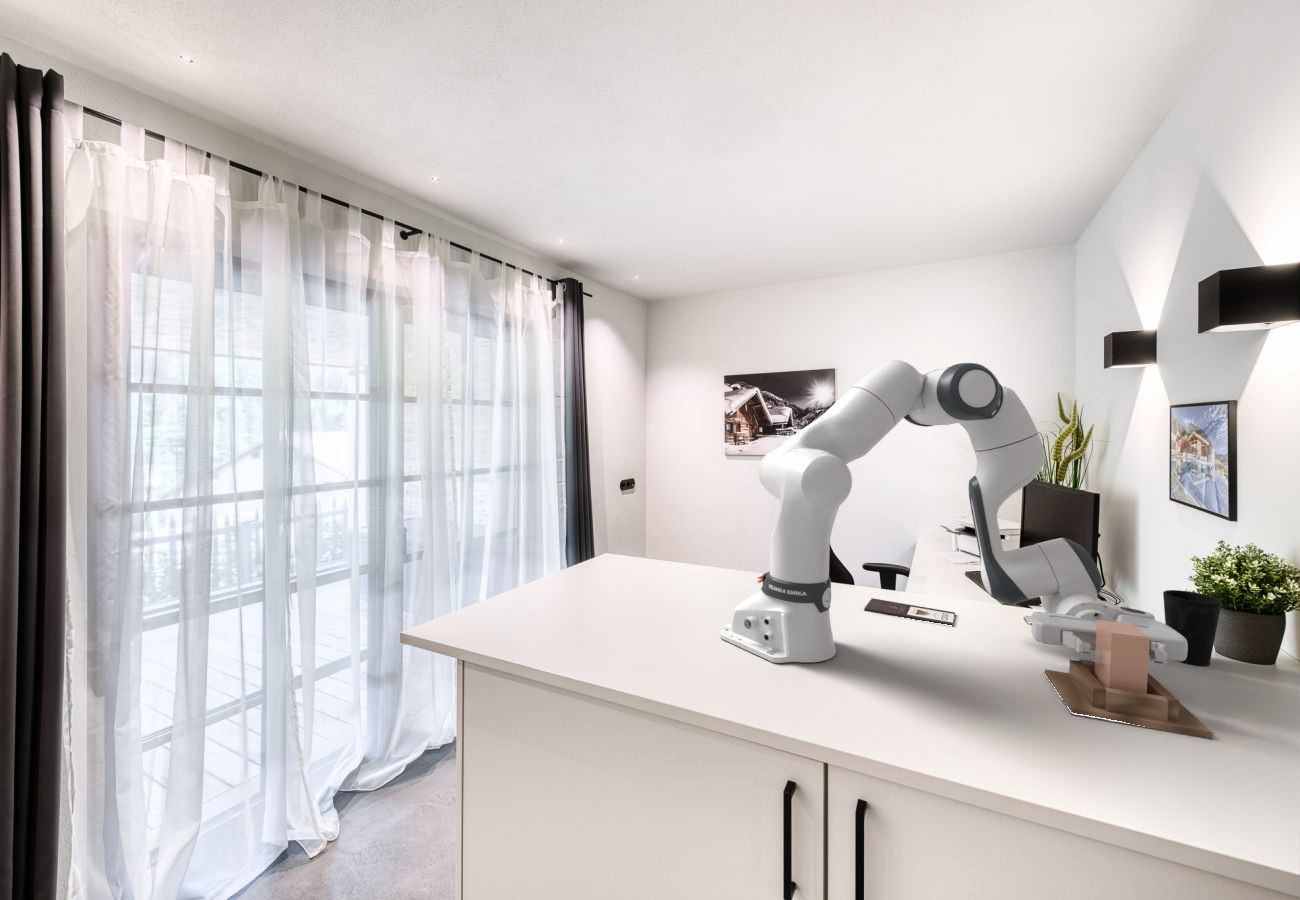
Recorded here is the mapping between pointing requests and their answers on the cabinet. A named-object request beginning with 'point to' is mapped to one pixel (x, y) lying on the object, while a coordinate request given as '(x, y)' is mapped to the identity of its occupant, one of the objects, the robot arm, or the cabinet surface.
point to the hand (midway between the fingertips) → (1122, 653)
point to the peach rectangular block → (1121, 656)
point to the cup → (1193, 622)
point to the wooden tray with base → (1124, 701)
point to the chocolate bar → (910, 611)
